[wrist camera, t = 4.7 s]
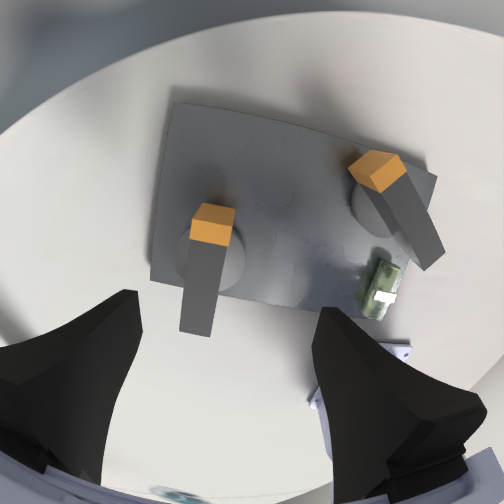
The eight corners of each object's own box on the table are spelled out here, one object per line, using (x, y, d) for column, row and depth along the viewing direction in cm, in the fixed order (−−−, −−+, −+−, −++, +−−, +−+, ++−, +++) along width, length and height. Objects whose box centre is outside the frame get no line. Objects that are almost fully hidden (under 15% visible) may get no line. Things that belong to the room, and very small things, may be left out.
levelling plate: (376, 312, 22) (389, 333, 19) (154, 272, 21) (142, 293, 18) (428, 173, 18) (452, 181, 15) (178, 104, 16) (166, 98, 13)
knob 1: (235, 300, 20) (232, 342, 16) (173, 288, 20) (157, 326, 16) (256, 208, 18) (259, 232, 13) (186, 194, 17) (166, 213, 13)
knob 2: (424, 217, 18) (460, 239, 14) (379, 254, 19) (407, 285, 15) (377, 137, 16) (414, 140, 12) (326, 178, 17) (350, 192, 13)
